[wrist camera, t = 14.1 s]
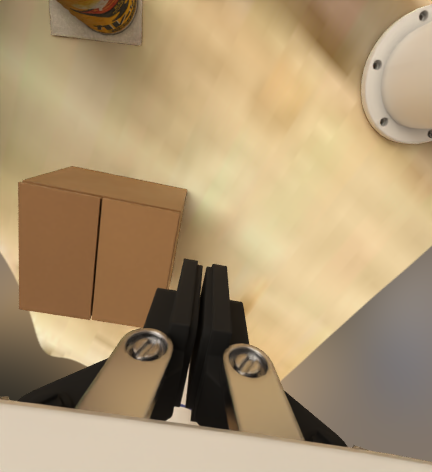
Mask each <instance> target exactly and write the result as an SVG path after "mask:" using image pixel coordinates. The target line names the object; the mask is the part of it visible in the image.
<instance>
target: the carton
mask: <svg viewBox="0 0 432 472" xmlns="http://www.w3.org/2000/svg"><path fill="white" fill-rule="evenodd" d="M186 193H187V189H182V188H177V187H172V186H167V185H162V184H157V183H152V182H147V181H142V180H138V179H133V178H128V177H123V176H118V175H113V174H108V173H103V172H98V171H93V170H88V169H83V168H78V167H73V166H71V167H67V168H64V169H60V170H57V171H53V172H50V173H46V174H43V175H39V176H36V177H32V178H29V179H25V180H23V182H18V197H19V309H21V310H28V311H34V312H41V313H48V314H54V315H61V316H67V317H74V318H81V319H87V320H90V318H91V316H92V312H93V300H94V289H95V277H96V266H97V255H98V243H99V232H100V220H101V209H102V199H103V198H108V199H113V200H118V201H123V202H128V203H133V204H138V205H143V206H149V207H154V208H159V209H164V210H169V211H174V212H179V213H180V214H179V220H178V226H177V231H176V237H175V242H174V248H173V254H172V259H171V265H170V270H169V276H168V282H167V287H166V289H169V286H170V281H171V276H172V270H173V265H174V259H175V254H176V248H177V243H178V237H179V232H180V226H181V221H182V215H183V210H184V204H185V199H186Z"/></svg>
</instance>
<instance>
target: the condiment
mask: <svg viewBox="0 0 432 472" xmlns="http://www.w3.org/2000/svg"><path fill="white" fill-rule="evenodd" d="M49 9H50V18H51V21H50V23H51V35H58V36H66V37H75V38H83V39H91V40H98V41H106V42H114V43H122V44H130V45H141V42H142V0H49Z"/></svg>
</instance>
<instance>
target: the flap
mask: <svg viewBox="0 0 432 472" xmlns="http://www.w3.org/2000/svg"><path fill="white" fill-rule="evenodd" d="M179 214H180V213H179V212H174V211H169V210H164V209H159V208H154V207H149V206H143V205H138V204H133V203H128V202H123V201H118V200H113V199H108V198H103V199H102V209H101V220H100V232H99V243H98V255H97V266H96V277H95V289H94V300H93V312H92V320H97V321H103V322H110V323H116V324H122V325H129V326H135V327H141V328H143V327H144V324H145V321H146V318H147V315H148V312H149V310H150V307H151V304H152V301H153V298H154V295H155V292H156V290H157V288H163V289H166V287H167V282H168V276H169V270H170V265H171V259H172V254H173V248H174V242H175V237H176V231H177V226H178V220H179Z"/></svg>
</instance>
